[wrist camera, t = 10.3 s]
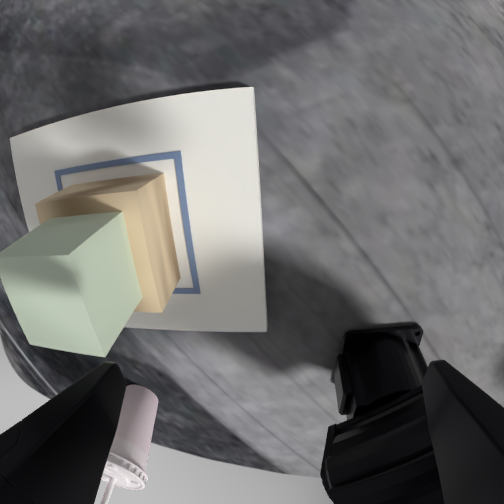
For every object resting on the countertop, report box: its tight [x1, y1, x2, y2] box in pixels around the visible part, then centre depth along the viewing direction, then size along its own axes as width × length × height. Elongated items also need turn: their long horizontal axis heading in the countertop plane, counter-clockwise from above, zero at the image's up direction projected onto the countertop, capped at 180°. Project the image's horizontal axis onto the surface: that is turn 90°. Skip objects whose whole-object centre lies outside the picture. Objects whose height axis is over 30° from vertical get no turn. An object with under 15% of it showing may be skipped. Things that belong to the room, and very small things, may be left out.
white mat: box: [10, 87, 267, 332], centre depth 20 cm, size 18×16×1 cm
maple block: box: [35, 173, 181, 313], centre depth 18 cm, size 7×7×4 cm
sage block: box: [0, 211, 142, 357], centre depth 14 cm, size 5×5×5 cm
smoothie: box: [101, 385, 158, 504], centre depth 23 cm, size 6×6×14 cm
